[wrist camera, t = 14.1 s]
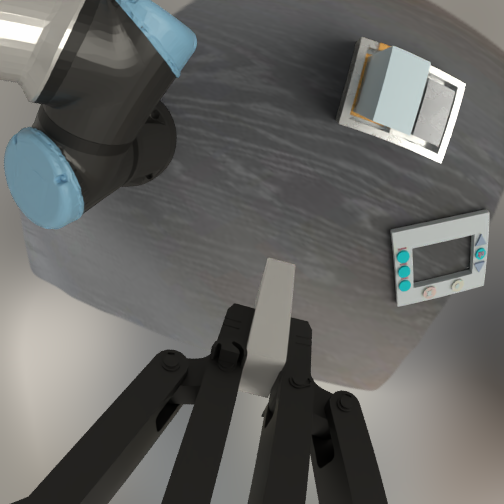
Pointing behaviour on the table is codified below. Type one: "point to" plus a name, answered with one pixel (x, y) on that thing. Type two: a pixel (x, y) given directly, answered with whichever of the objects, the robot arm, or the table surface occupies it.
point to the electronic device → (436, 233)
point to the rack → (428, 116)
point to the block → (392, 88)
